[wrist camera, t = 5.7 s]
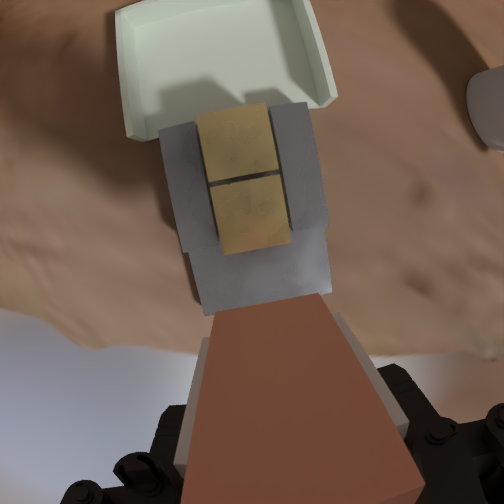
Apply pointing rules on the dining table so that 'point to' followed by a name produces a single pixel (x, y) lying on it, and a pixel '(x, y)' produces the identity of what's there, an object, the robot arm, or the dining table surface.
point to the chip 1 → (237, 142)
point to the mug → (487, 106)
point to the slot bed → (260, 260)
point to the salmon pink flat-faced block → (292, 416)
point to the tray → (216, 59)
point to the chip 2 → (251, 214)
